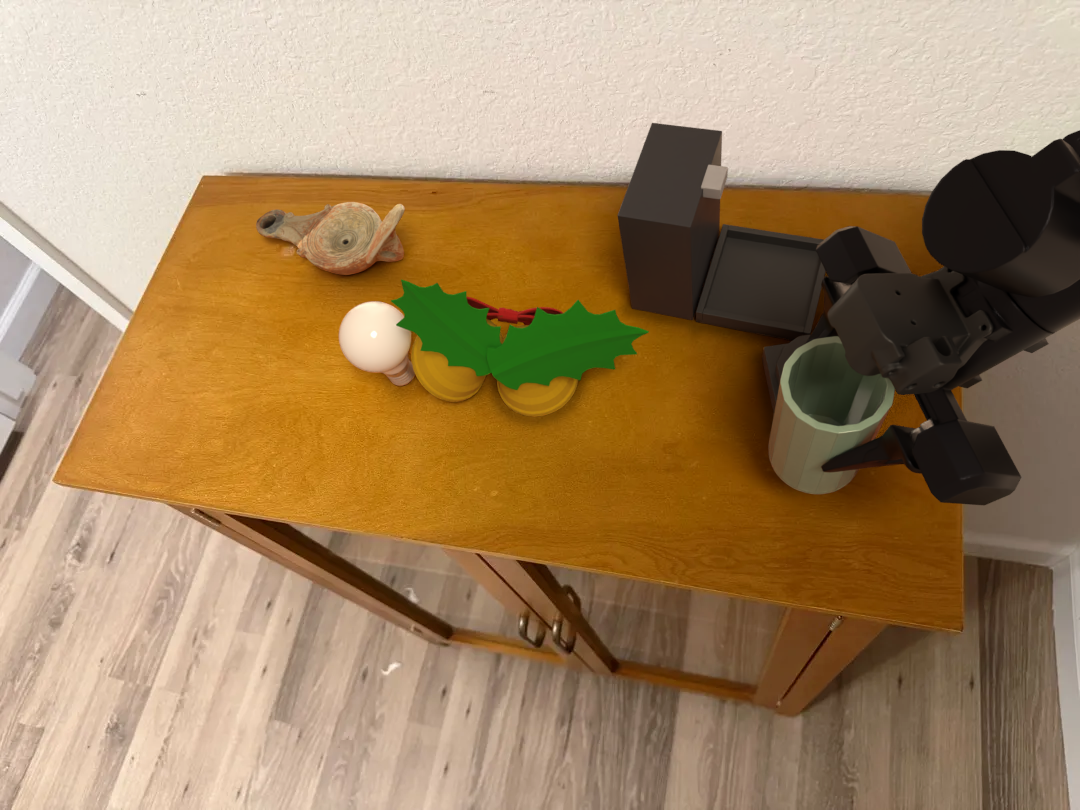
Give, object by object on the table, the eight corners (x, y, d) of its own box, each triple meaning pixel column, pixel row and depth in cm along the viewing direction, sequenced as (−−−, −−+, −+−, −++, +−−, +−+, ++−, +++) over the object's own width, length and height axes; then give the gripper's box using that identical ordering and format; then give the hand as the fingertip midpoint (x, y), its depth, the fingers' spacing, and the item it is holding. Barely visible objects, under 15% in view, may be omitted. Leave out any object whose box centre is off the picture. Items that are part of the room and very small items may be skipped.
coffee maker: (830, 252, 73) (856, 143, 60) (807, 344, 69) (830, 248, 57) (660, 225, 78) (651, 119, 65) (631, 309, 74) (616, 215, 62)
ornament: (610, 373, 77) (648, 255, 66) (610, 439, 72) (652, 322, 60) (403, 343, 76) (407, 216, 64) (387, 408, 70) (388, 281, 59)
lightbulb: (361, 391, 76) (313, 336, 66) (395, 339, 78) (352, 278, 68) (414, 415, 74) (371, 361, 64) (447, 361, 76) (410, 300, 66)
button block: (842, 347, 68) (849, 323, 65) (861, 418, 65) (870, 398, 62) (761, 358, 70) (764, 336, 66) (776, 429, 66) (780, 409, 63)
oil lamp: (417, 306, 79) (381, 247, 70) (252, 265, 86) (200, 207, 77) (450, 239, 82) (419, 174, 73) (288, 205, 89) (242, 142, 80)
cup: (849, 407, 61) (879, 329, 50) (870, 488, 58) (907, 424, 47) (761, 418, 62) (772, 344, 51) (777, 499, 59) (792, 439, 48)
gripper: (873, 129, 43) (685, 293, 53) (1042, 423, 34) (778, 549, 45) (973, 183, 49) (786, 321, 60) (1136, 443, 41) (885, 549, 51)
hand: (805, 422), depth 54 cm, fingers closed on cup, 7 cm apart
